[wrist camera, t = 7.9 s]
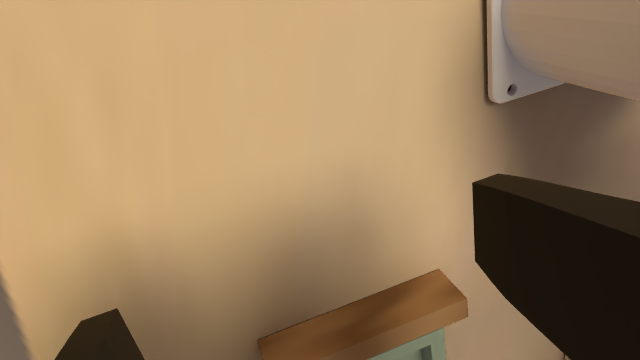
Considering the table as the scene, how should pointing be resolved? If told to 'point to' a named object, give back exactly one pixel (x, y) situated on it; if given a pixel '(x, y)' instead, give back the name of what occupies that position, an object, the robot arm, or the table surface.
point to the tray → (418, 349)
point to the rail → (372, 323)
